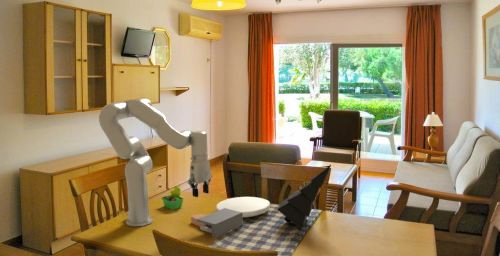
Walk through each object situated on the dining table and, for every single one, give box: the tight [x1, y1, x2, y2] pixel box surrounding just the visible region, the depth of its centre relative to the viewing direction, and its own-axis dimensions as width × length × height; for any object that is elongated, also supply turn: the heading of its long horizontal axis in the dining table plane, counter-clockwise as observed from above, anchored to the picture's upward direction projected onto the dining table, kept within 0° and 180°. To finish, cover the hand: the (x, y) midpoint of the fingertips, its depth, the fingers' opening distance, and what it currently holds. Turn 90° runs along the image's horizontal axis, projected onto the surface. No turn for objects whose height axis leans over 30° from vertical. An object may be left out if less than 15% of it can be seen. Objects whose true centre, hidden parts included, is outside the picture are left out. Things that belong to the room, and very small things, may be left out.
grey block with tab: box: [197, 208, 243, 240], centre depth 197 cm, size 13×19×6 cm
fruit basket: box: [161, 185, 184, 211], centre depth 230 cm, size 11×9×11 cm
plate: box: [215, 196, 271, 218], centre depth 220 cm, size 28×6×27 cm
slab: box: [190, 213, 212, 228], centre depth 203 cm, size 12×6×4 cm, turn 41°
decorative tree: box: [276, 164, 332, 229], centre depth 199 cm, size 15×15×35 cm
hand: (200, 194), depth 202 cm, fingers open, 6 cm apart
